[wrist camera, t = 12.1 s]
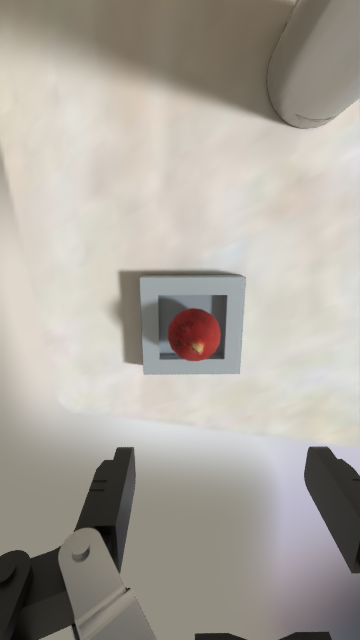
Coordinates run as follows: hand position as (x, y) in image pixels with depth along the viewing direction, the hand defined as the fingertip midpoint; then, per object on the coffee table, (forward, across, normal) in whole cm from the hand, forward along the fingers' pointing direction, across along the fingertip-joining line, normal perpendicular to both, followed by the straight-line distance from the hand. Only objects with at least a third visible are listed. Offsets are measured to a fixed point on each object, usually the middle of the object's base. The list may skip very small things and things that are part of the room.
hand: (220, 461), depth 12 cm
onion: (+22, 0, 0) cm, 22 cm away
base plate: (+23, 0, 0) cm, 23 cm away
